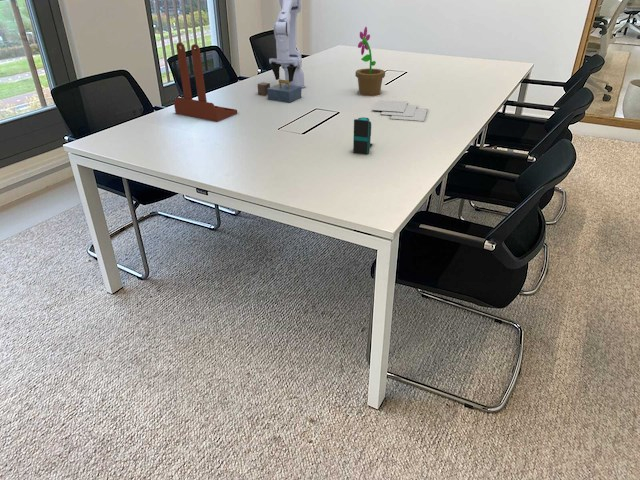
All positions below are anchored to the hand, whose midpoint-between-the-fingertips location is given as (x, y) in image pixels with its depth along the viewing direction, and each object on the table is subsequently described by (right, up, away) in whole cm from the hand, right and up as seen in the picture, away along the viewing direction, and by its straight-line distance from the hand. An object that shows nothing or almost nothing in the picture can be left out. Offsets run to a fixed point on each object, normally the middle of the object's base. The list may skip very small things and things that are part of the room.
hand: (284, 80), depth 233 cm
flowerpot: (+41, -3, +11) cm, 43 cm away
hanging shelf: (-33, -20, -15) cm, 42 cm away
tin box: (0, -7, +4) cm, 8 cm away
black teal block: (+33, -43, -54) cm, 76 cm away
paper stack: (+52, -18, -15) cm, 57 cm away
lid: (0, -3, +2) cm, 4 cm away
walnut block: (-11, -3, +12) cm, 16 cm away
